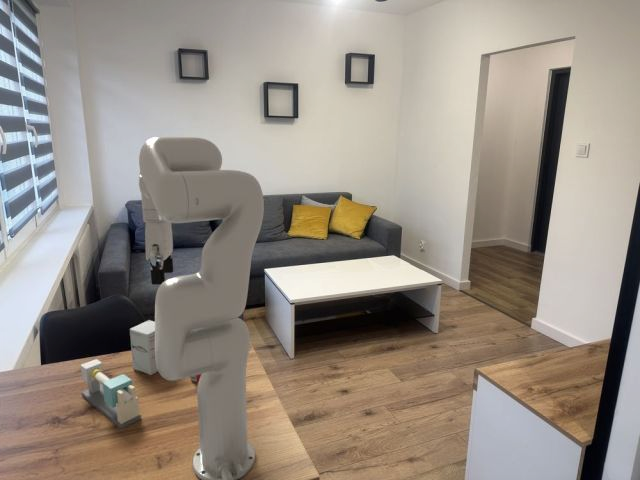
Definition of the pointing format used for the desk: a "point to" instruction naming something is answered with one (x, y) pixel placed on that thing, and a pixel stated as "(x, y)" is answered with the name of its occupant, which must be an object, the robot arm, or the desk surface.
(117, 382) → the sleeve
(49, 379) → the desk surface
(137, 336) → the supplement box
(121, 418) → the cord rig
